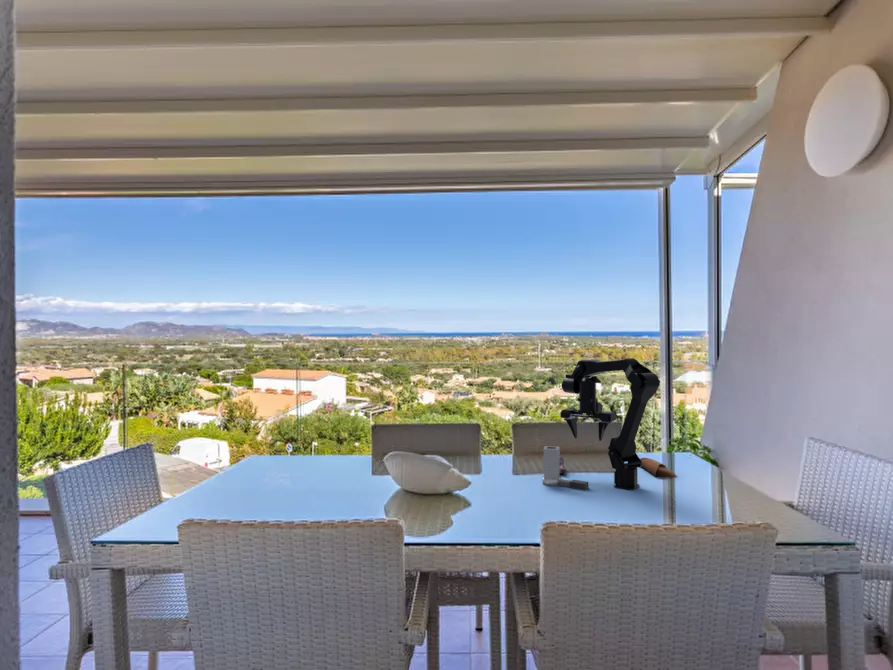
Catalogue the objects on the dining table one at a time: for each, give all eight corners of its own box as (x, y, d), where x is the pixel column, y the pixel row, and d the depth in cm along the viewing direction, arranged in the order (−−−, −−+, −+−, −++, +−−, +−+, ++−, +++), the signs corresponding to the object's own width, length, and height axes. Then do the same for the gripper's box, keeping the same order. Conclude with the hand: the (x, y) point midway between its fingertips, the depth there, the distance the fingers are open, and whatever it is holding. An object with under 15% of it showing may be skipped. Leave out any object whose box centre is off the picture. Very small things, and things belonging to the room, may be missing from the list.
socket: (559, 476, 204) (559, 446, 204) (559, 479, 199) (558, 449, 199) (544, 475, 205) (544, 446, 205) (543, 478, 200) (543, 449, 200)
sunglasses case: (679, 477, 208) (670, 461, 208) (662, 488, 208) (652, 471, 208) (659, 465, 226) (650, 450, 226) (643, 475, 226) (634, 460, 226)
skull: (571, 476, 212) (570, 459, 212) (549, 477, 212) (549, 459, 211) (563, 468, 224) (562, 452, 224) (542, 469, 223) (542, 452, 223)
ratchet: (590, 486, 197) (590, 473, 197) (582, 491, 192) (582, 477, 192) (547, 480, 207) (547, 467, 207) (539, 484, 202) (538, 470, 202)
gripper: (621, 394, 212) (622, 438, 212) (572, 391, 223) (573, 433, 223) (609, 397, 203) (610, 443, 203) (559, 394, 214) (559, 438, 214)
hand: (588, 439), depth 211 cm, fingers open, 9 cm apart
